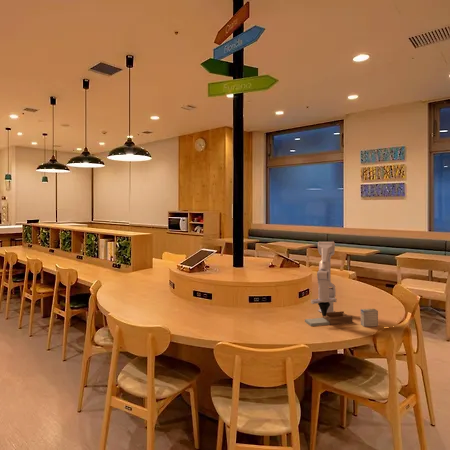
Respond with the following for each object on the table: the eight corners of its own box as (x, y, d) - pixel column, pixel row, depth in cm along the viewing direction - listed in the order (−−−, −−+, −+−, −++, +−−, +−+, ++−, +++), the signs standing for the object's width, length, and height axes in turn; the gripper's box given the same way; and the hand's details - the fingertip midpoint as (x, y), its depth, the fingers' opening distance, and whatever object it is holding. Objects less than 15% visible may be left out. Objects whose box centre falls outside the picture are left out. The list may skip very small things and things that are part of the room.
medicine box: (374, 323, 197) (374, 308, 197) (378, 326, 193) (378, 310, 192) (360, 324, 197) (360, 308, 196) (363, 327, 192) (363, 311, 192)
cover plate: (304, 322, 204) (304, 319, 204) (322, 321, 206) (322, 317, 206) (311, 327, 196) (311, 323, 196) (329, 325, 198) (329, 321, 198)
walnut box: (322, 319, 207) (322, 312, 207) (343, 318, 209) (343, 311, 209) (330, 325, 197) (330, 317, 197) (352, 323, 199) (352, 315, 199)
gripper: (314, 293, 196) (315, 318, 196) (339, 292, 198) (339, 316, 199) (309, 291, 203) (309, 315, 203) (332, 289, 205) (333, 313, 206)
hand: (324, 315), depth 201 cm, fingers closed
